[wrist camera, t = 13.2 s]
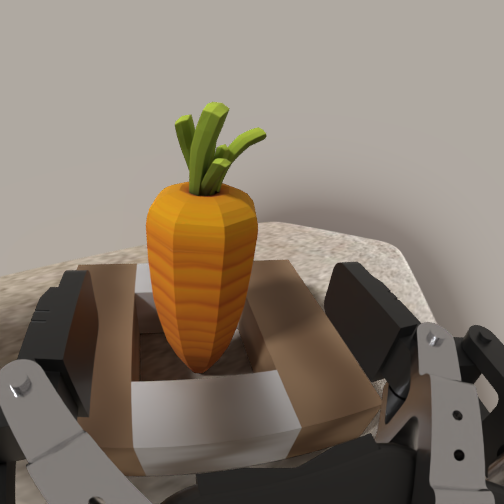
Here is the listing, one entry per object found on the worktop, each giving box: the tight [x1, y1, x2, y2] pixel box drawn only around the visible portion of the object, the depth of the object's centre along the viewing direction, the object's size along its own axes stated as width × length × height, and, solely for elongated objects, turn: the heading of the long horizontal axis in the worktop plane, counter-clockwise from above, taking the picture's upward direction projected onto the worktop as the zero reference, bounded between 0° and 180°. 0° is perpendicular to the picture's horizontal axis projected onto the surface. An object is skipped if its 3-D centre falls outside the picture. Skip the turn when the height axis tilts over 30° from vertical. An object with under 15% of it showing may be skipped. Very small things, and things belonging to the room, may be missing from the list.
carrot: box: [146, 102, 266, 373], centre depth 15 cm, size 5×5×15 cm
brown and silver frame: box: [77, 260, 382, 476], centre depth 17 cm, size 16×14×4 cm
